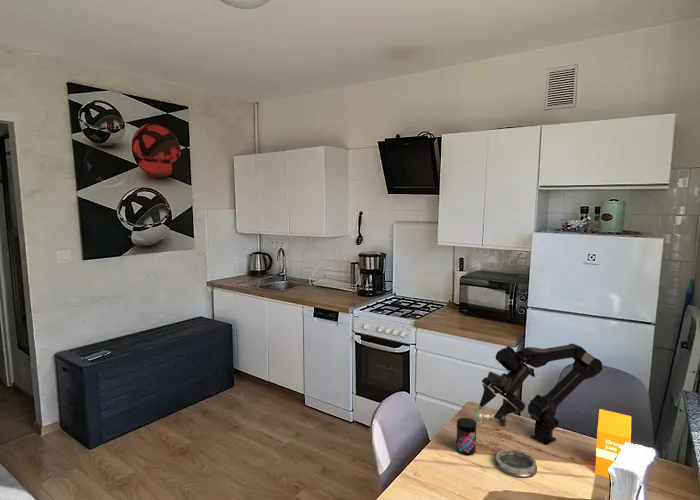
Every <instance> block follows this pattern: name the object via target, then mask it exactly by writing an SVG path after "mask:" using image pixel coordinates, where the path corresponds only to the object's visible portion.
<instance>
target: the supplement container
mask: <svg viewBox="0 0 700 500" xmlns="http://www.w3.org/2000/svg"><path fill="white" fill-rule="evenodd" d="M477 427H478V426H477V423H476V422H475V421H474V419H472V418H469V417H460V418H457V420H456V439H455V440H456V446H455V447H456V448H455V449H456V450H457V452H458V454H461V455H463V456H473V455H474V454H476V452H477Z"/></svg>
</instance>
